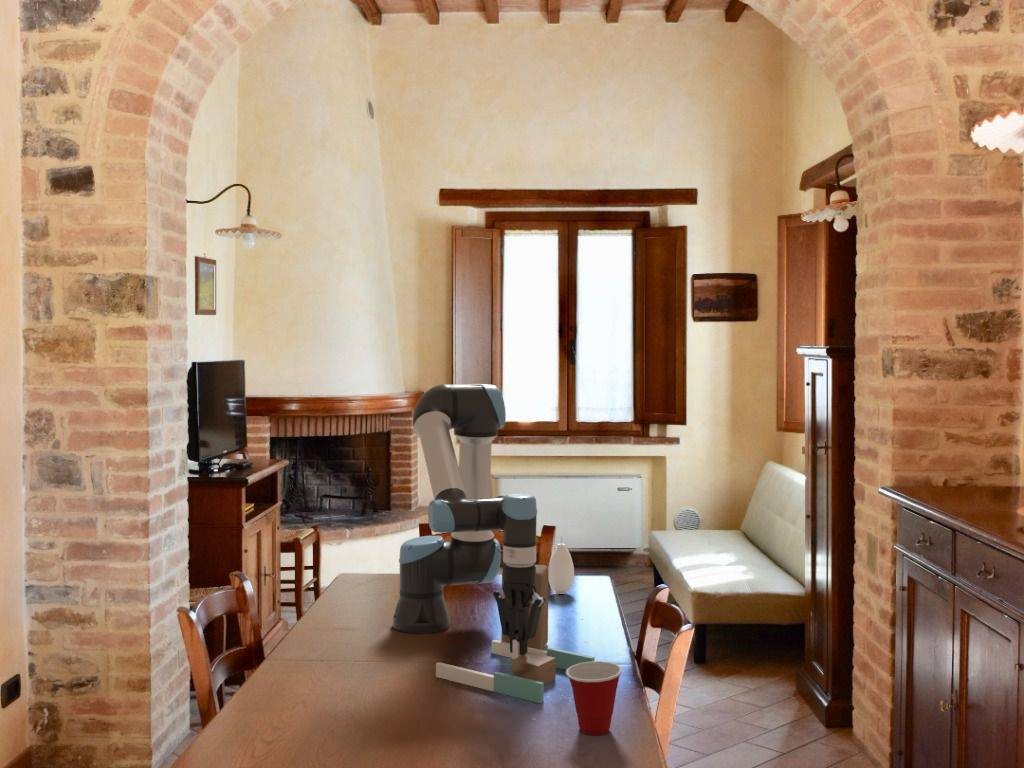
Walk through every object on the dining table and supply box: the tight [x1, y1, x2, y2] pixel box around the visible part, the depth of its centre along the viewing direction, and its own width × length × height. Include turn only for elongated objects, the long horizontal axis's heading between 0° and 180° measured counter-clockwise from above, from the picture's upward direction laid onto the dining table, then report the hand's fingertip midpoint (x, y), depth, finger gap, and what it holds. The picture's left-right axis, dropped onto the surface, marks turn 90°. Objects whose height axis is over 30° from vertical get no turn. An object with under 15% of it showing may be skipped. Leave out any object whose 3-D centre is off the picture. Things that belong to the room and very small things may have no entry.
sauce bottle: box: [548, 535, 575, 595], centre depth 291 cm, size 8×8×18 cm
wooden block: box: [500, 564, 549, 650], centre depth 237 cm, size 10×10×20 cm
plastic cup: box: [565, 660, 623, 736], centre depth 186 cm, size 11×11×12 cm
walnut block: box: [511, 652, 557, 686], centre depth 214 cm, size 7×7×5 cm
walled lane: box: [435, 639, 596, 704], centre depth 217 cm, size 28×22×4 cm
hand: (518, 667), depth 216 cm, fingers closed
